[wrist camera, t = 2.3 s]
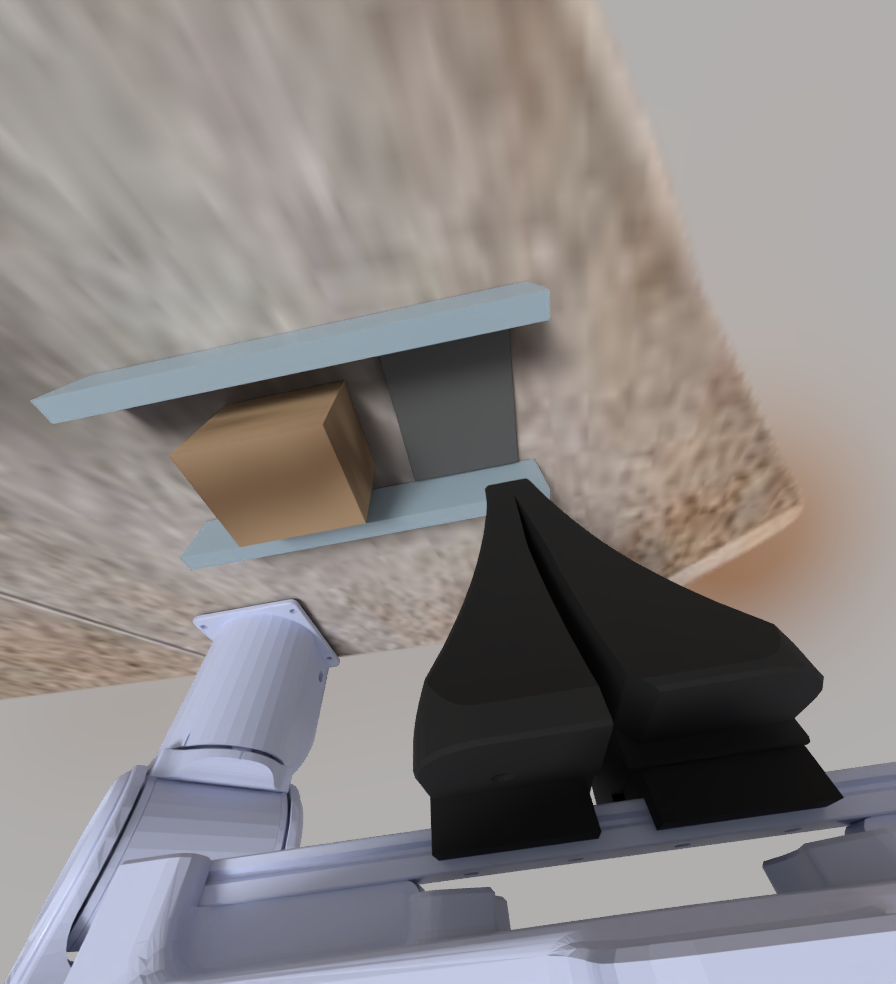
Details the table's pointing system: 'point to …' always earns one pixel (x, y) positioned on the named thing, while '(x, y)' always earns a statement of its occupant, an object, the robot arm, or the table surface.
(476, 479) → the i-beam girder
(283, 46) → the table surface
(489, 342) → the dark grey slab
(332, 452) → the block
